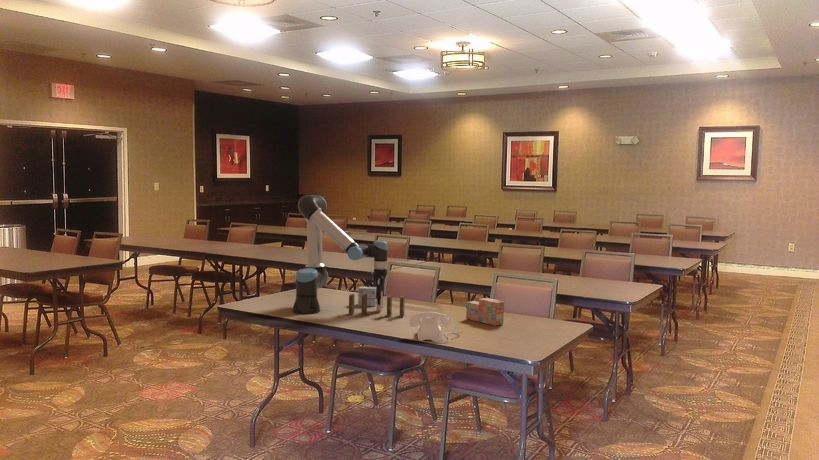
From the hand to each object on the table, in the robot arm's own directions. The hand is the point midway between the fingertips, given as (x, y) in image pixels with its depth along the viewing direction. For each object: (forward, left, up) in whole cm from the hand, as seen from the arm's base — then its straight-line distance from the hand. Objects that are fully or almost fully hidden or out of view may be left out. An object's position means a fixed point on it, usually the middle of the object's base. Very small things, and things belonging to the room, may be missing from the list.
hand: (379, 309), depth 362 cm
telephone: (+36, -56, -2) cm, 66 cm away
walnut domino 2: (-7, -11, -1) cm, 13 cm away
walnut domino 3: (+7, -11, -1) cm, 13 cm away
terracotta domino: (0, 0, -1) cm, 1 cm away
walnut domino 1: (-14, -11, -1) cm, 18 cm away
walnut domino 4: (+14, -11, -1) cm, 18 cm away
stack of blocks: (+59, -15, -2) cm, 61 cm away
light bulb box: (-10, +17, -2) cm, 20 cm away
